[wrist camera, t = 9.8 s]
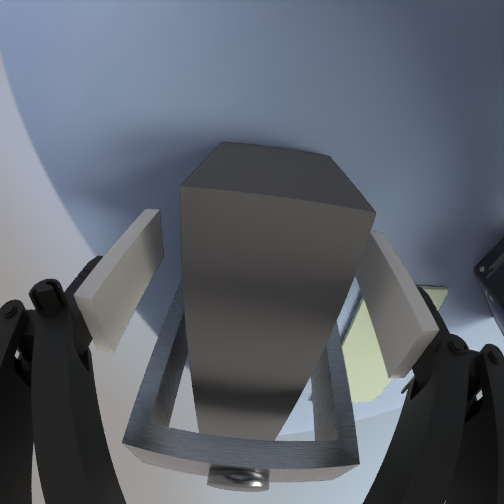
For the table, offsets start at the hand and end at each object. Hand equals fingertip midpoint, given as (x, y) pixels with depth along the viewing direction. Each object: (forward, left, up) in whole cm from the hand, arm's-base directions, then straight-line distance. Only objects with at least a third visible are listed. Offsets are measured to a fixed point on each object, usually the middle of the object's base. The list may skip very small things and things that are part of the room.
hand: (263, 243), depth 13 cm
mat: (+14, +12, -4) cm, 18 cm away
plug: (+6, 0, -4) cm, 7 cm away
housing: (+8, 0, -4) cm, 9 cm away
